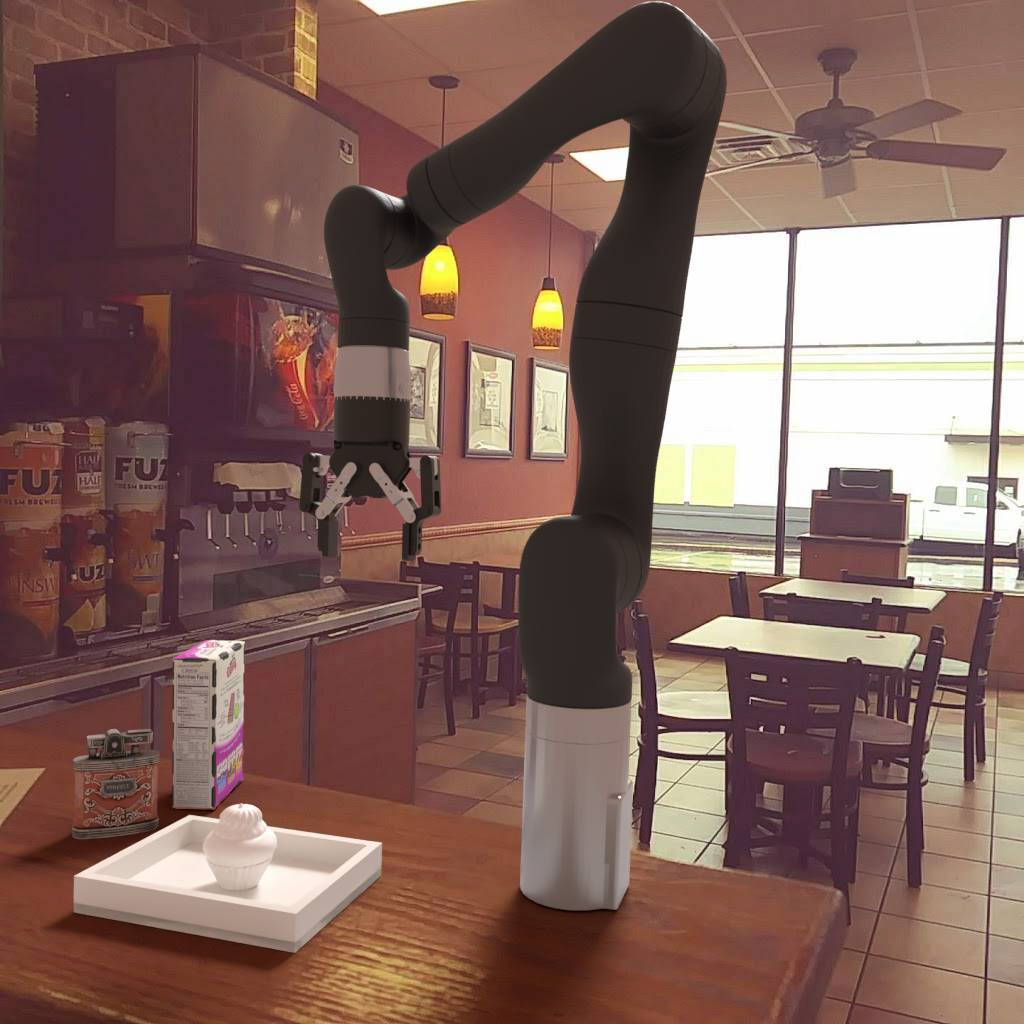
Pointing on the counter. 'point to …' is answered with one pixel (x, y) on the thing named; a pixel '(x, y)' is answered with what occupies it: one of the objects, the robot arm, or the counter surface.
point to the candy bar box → (207, 723)
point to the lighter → (116, 786)
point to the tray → (223, 913)
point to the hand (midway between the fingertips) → (368, 558)
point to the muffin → (239, 847)
